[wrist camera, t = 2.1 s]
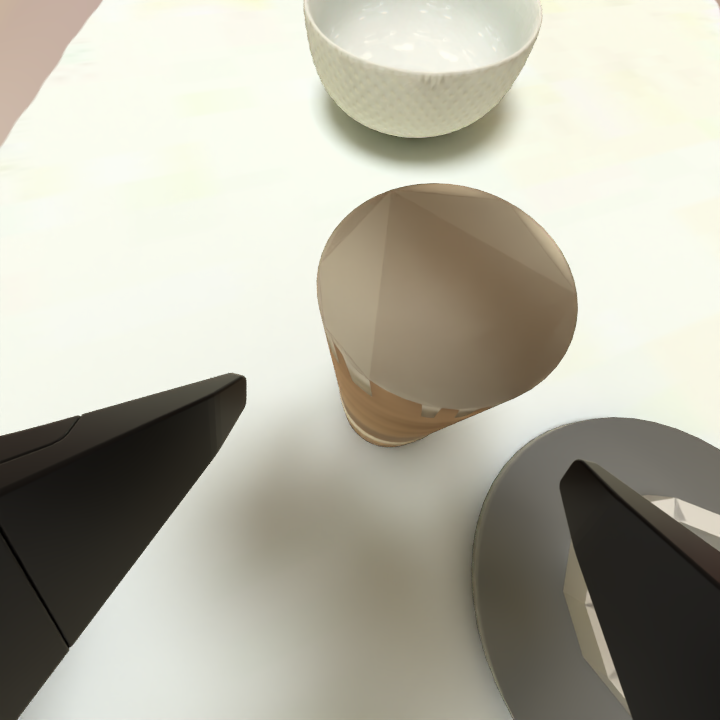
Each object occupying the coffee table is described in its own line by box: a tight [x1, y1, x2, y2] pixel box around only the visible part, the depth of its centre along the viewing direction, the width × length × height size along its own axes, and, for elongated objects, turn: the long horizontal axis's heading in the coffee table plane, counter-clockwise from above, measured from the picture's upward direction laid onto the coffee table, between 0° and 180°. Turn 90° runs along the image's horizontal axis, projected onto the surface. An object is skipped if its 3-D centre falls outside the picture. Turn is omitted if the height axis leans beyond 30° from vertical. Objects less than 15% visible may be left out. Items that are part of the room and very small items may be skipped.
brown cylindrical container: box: [317, 183, 578, 447], centre depth 13 cm, size 6×6×13 cm
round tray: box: [472, 417, 720, 720], centre depth 14 cm, size 18×18×2 cm
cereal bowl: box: [304, 0, 542, 138], centre depth 24 cm, size 17×17×7 cm
